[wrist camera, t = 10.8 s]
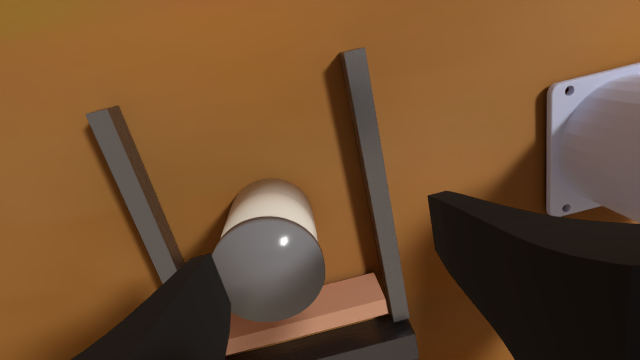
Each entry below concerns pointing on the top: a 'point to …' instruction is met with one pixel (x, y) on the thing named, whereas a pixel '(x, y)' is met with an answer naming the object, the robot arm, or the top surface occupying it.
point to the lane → (394, 330)
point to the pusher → (313, 314)
